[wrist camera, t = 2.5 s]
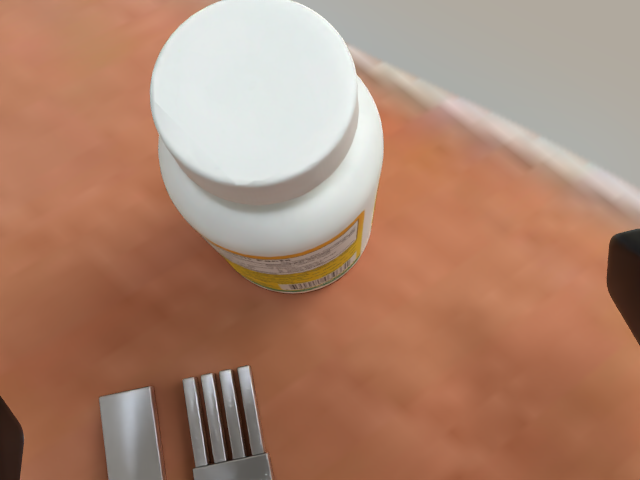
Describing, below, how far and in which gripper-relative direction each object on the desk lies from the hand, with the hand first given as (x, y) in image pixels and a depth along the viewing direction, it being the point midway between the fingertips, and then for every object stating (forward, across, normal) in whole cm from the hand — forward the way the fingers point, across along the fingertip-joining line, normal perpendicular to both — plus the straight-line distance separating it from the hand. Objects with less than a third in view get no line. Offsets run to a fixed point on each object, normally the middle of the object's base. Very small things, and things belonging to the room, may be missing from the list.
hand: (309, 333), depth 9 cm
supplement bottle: (+12, 0, +5) cm, 12 cm away
